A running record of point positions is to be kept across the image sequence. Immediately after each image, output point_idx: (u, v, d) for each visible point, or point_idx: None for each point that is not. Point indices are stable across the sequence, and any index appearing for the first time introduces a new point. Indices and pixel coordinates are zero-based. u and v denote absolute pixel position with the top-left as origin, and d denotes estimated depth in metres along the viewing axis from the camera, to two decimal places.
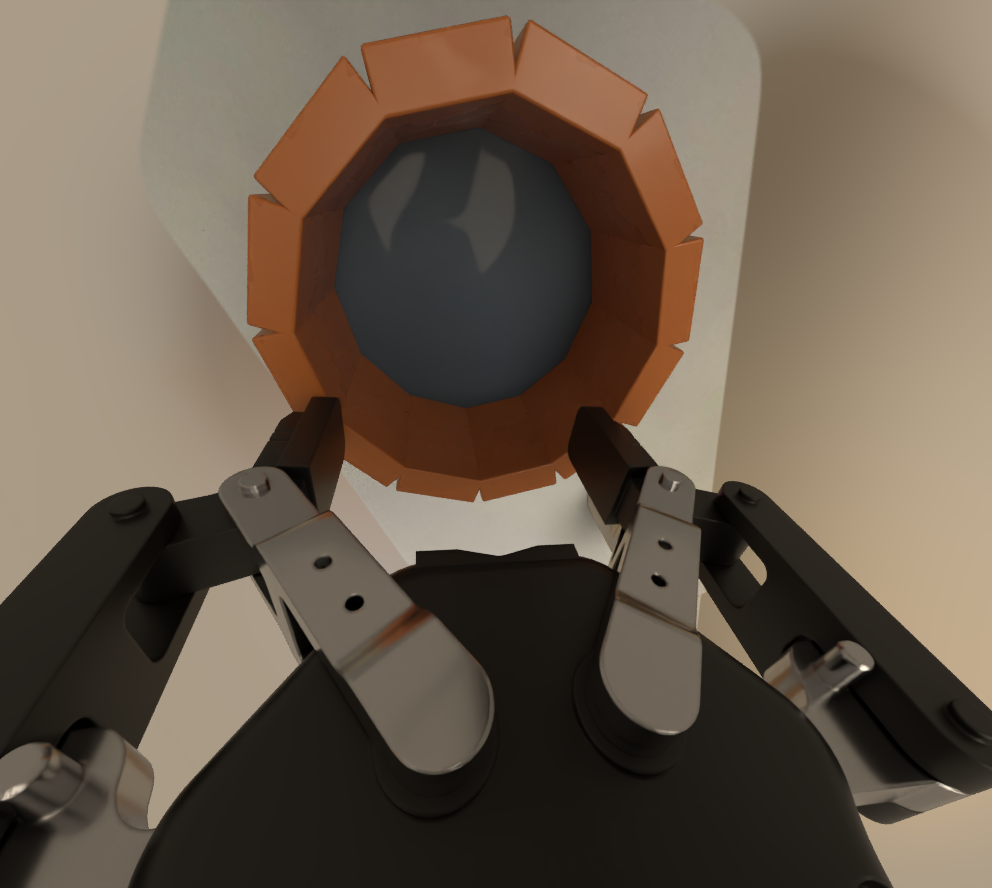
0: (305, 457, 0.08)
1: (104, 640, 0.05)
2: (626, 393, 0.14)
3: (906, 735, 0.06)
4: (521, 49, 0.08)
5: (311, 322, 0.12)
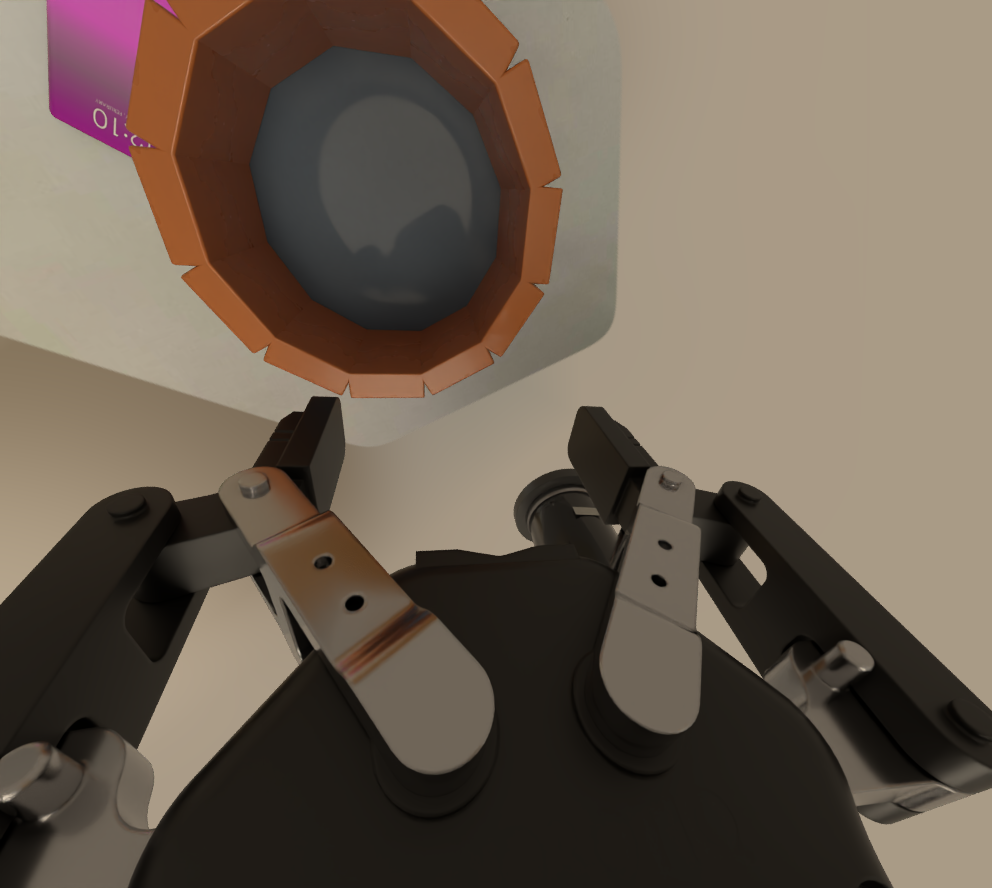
0: (305, 457, 0.08)
1: (104, 640, 0.05)
2: (234, 290, 0.13)
3: (905, 735, 0.06)
4: (489, 354, 0.16)
5: (482, 90, 0.13)
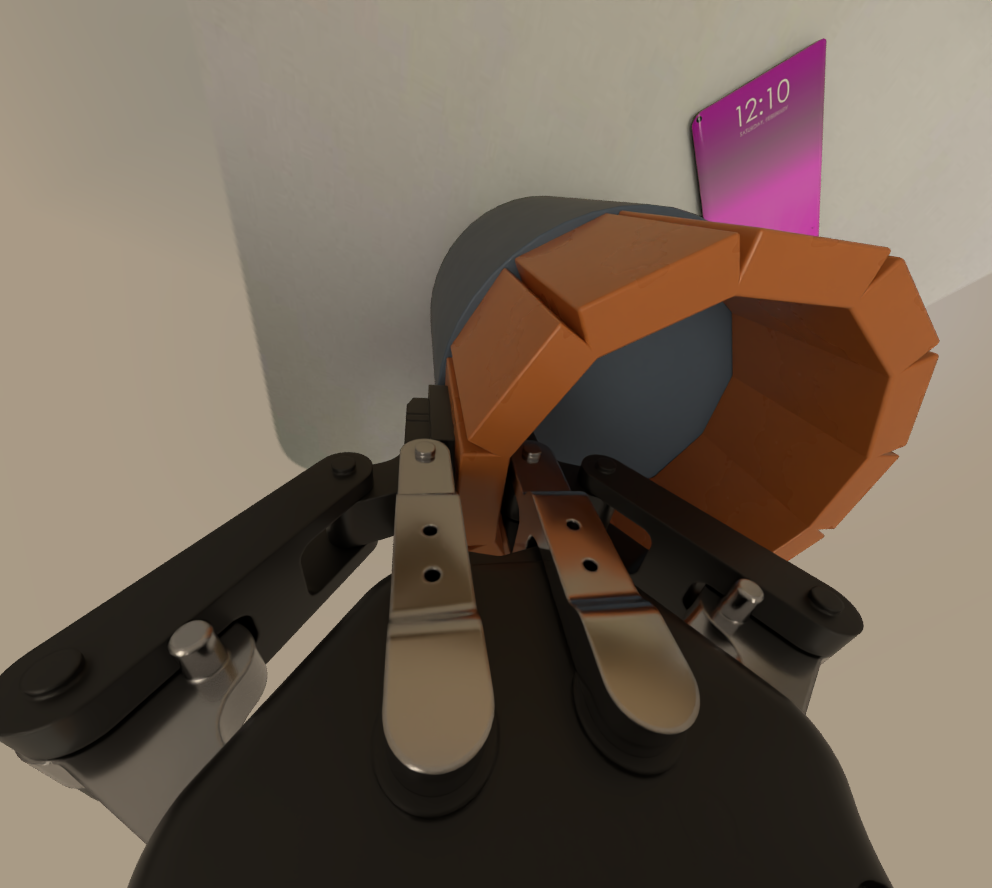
0: (450, 433, 0.10)
1: (283, 564, 0.06)
2: None
3: (797, 635, 0.07)
4: (470, 545, 0.10)
5: None
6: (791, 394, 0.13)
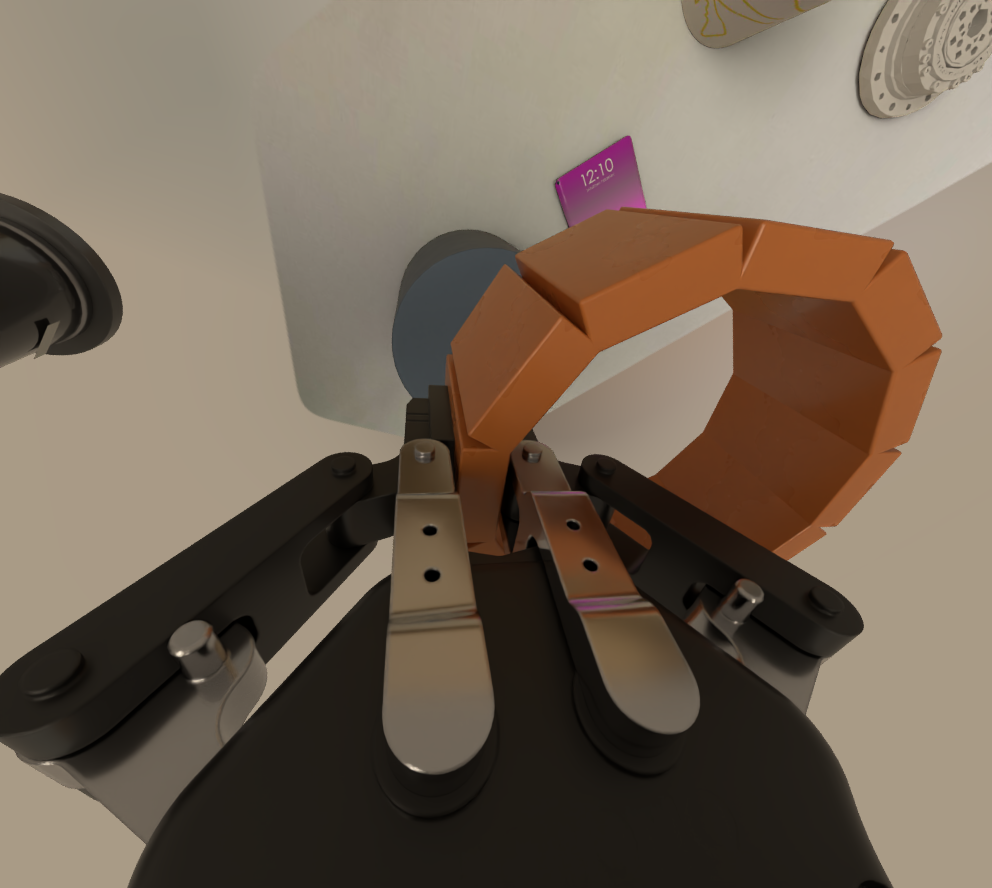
0: (450, 433, 0.10)
1: (282, 564, 0.06)
2: (810, 295, 0.08)
3: (797, 635, 0.07)
4: (470, 542, 0.10)
5: None
6: (792, 391, 0.13)
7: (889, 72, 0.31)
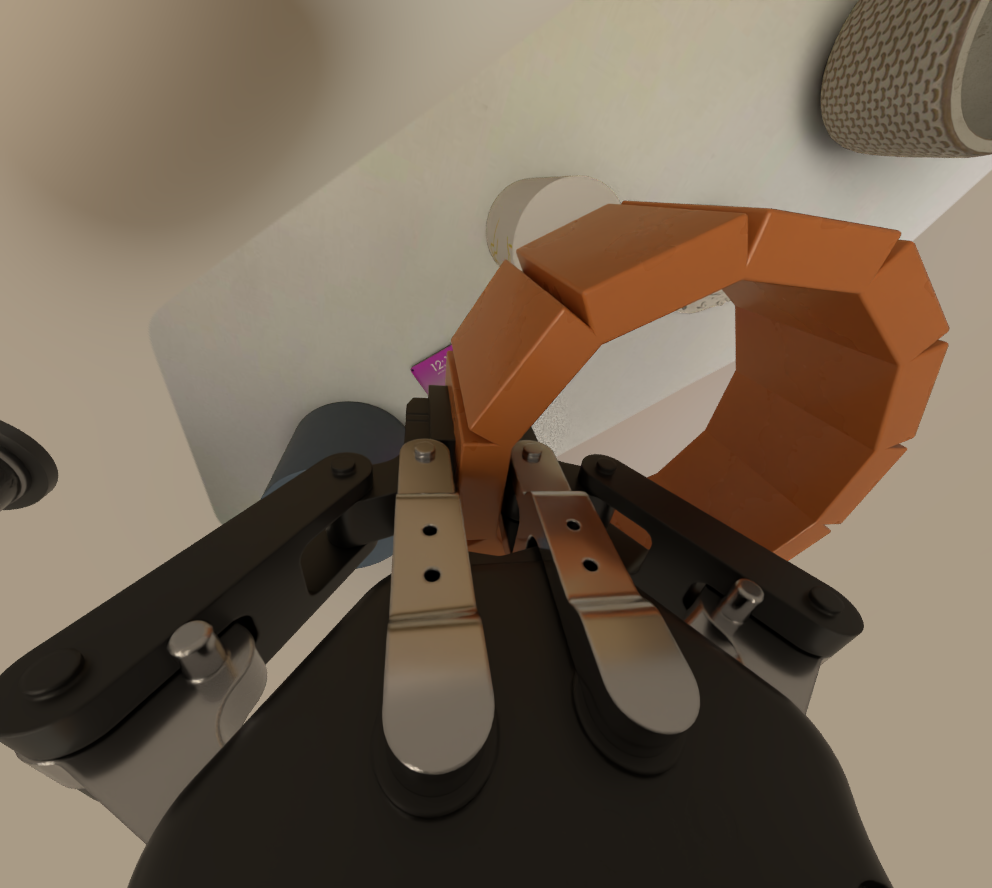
0: (450, 433, 0.10)
1: (282, 564, 0.06)
2: (816, 286, 0.08)
3: (797, 635, 0.07)
4: (471, 539, 0.10)
5: None
6: (796, 387, 0.13)
7: None
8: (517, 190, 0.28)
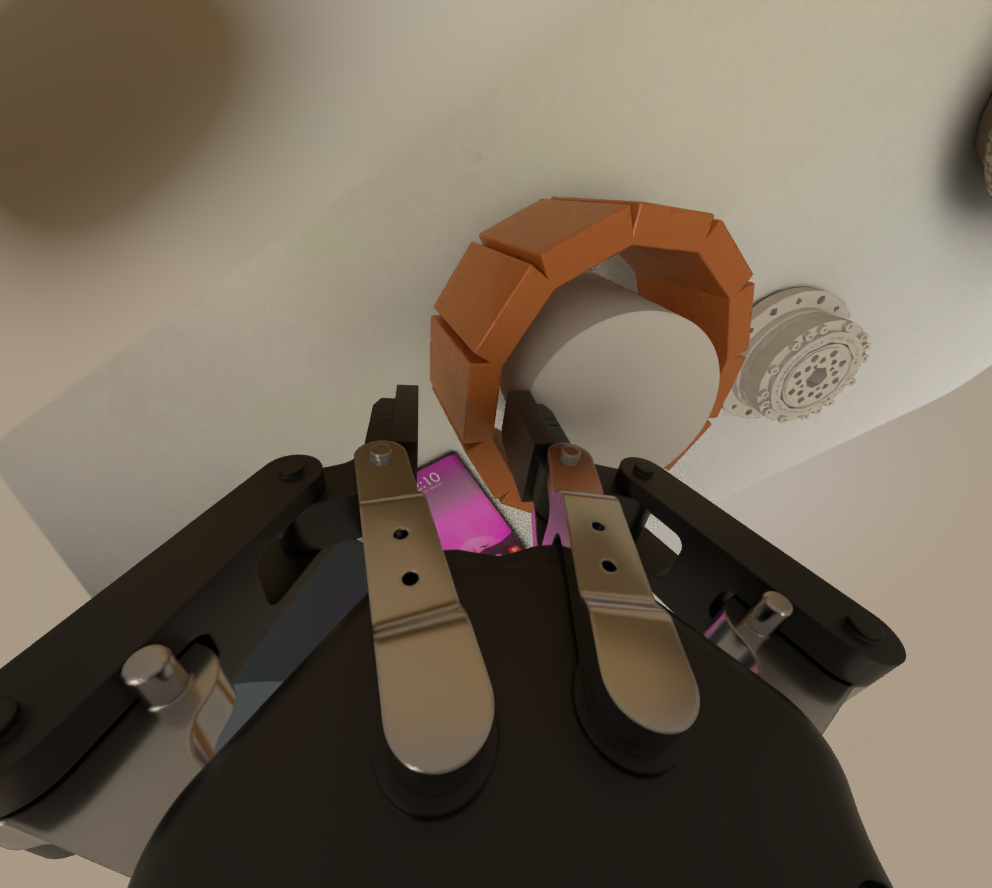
0: (411, 434, 0.10)
1: (238, 576, 0.06)
2: None
3: (827, 658, 0.06)
4: (475, 442, 0.14)
5: None
6: None
7: (736, 393, 0.28)
8: None
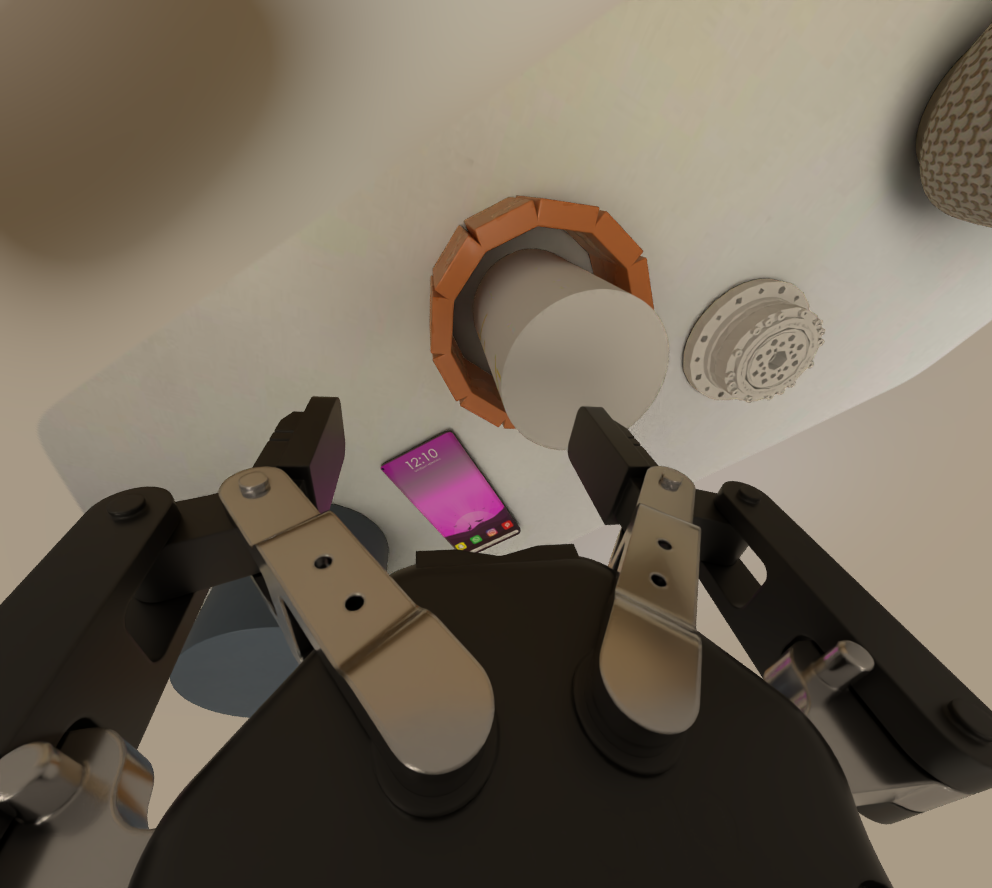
0: (305, 457, 0.08)
1: (104, 640, 0.05)
2: (573, 229, 0.19)
3: (906, 735, 0.06)
4: (439, 353, 0.22)
5: None
6: None
7: (708, 376, 0.31)
8: (512, 279, 0.20)
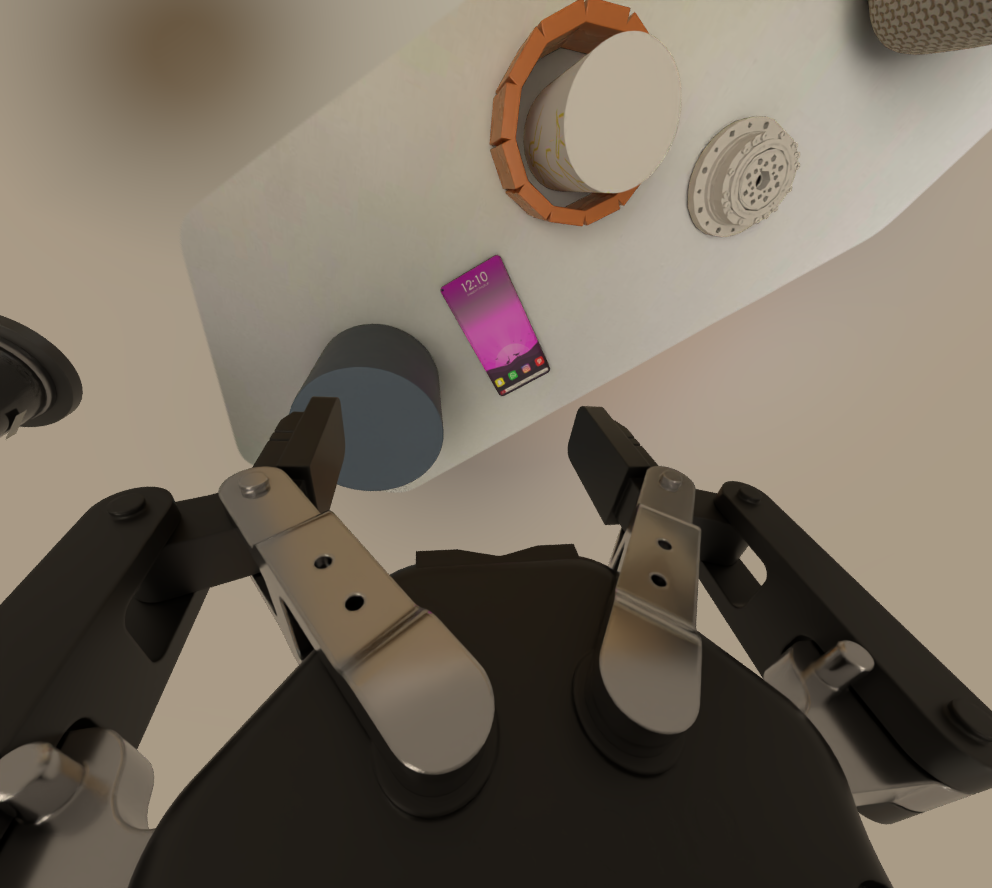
0: (305, 457, 0.08)
1: (104, 640, 0.05)
2: (610, 28, 0.27)
3: (906, 735, 0.06)
4: (506, 138, 0.29)
5: (580, 208, 0.34)
6: None
7: (708, 207, 0.38)
8: (564, 72, 0.28)
